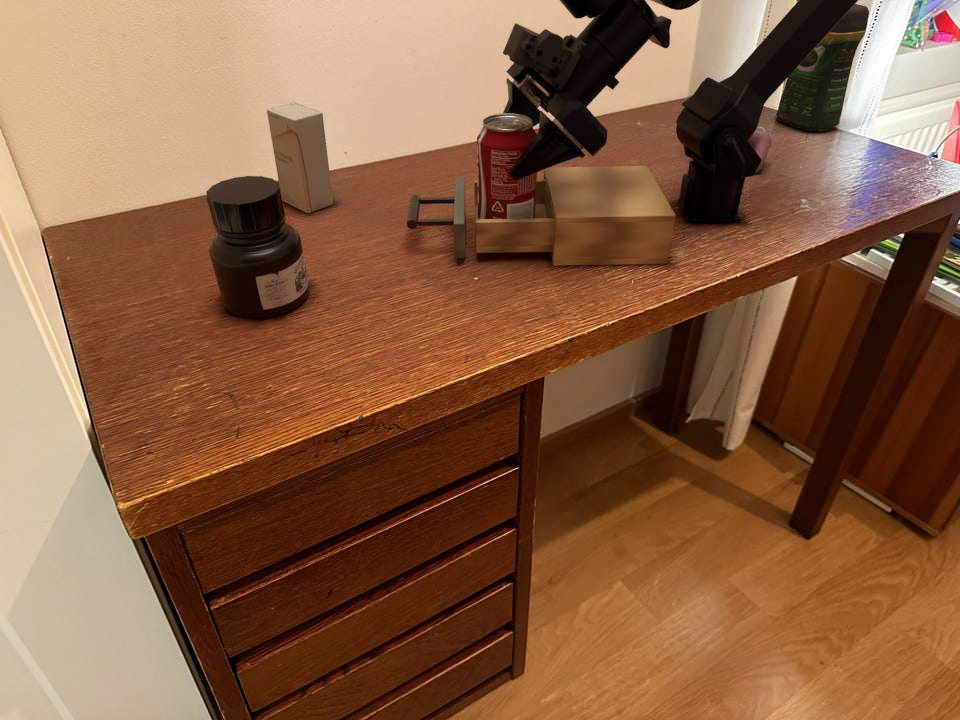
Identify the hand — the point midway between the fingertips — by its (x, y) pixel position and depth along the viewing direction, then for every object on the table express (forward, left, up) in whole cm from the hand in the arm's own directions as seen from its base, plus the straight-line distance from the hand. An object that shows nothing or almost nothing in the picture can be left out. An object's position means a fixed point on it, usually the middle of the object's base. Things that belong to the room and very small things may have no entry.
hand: (500, 162), depth 78 cm
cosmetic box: (+25, -11, -10) cm, 29 cm away
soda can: (-1, 0, -8) cm, 8 cm away
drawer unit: (-12, 0, -9) cm, 15 cm away
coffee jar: (-53, -40, -10) cm, 67 cm away
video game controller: (-35, -23, -10) cm, 43 cm away
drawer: (+2, 0, -9) cm, 9 cm away
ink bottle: (+25, +13, -10) cm, 30 cm away
